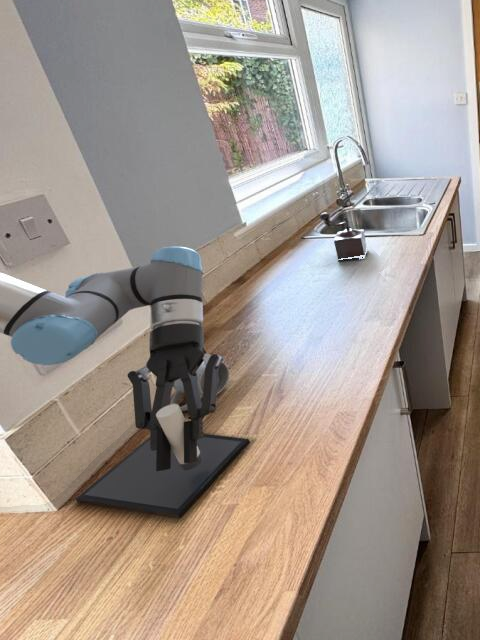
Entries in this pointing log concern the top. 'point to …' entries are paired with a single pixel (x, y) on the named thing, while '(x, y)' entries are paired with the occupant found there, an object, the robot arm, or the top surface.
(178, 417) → the light grey elongated piece
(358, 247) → the black coffee grinder
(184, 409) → the ceramic mug
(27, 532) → the top surface
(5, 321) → the robot arm
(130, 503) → the tablet
